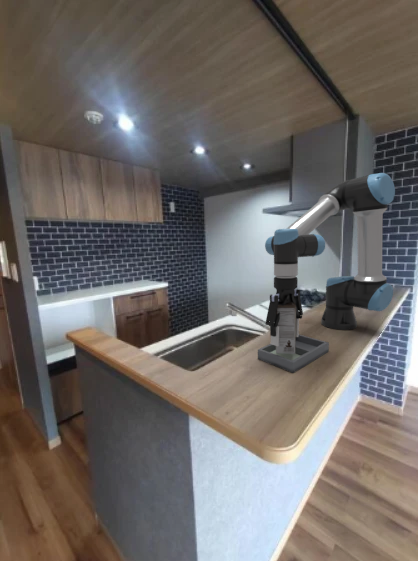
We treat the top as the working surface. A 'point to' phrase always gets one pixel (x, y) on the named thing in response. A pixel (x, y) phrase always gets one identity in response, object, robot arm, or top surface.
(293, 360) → the compartment tray
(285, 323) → the coffee box
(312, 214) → the robot arm
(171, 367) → the top surface
